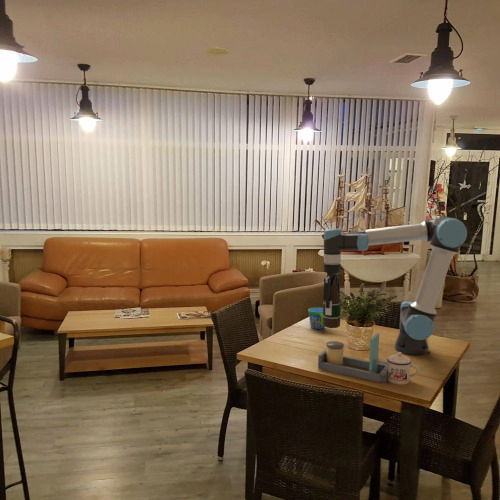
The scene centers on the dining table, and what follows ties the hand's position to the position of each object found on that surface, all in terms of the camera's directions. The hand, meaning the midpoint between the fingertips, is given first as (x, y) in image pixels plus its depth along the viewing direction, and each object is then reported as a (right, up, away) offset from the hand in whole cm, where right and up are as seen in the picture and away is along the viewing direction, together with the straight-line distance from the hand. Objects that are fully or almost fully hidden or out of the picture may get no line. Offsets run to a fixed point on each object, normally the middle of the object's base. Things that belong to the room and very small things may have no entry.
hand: (331, 312), depth 211 cm
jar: (-1, -21, -13) cm, 25 cm away
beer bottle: (0, -6, +1) cm, 6 cm away
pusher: (+16, -23, -23) cm, 36 cm away
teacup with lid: (+23, -24, -27) cm, 43 cm away
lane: (+7, -22, -18) cm, 29 cm away
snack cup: (0, -14, +42) cm, 44 cm away
